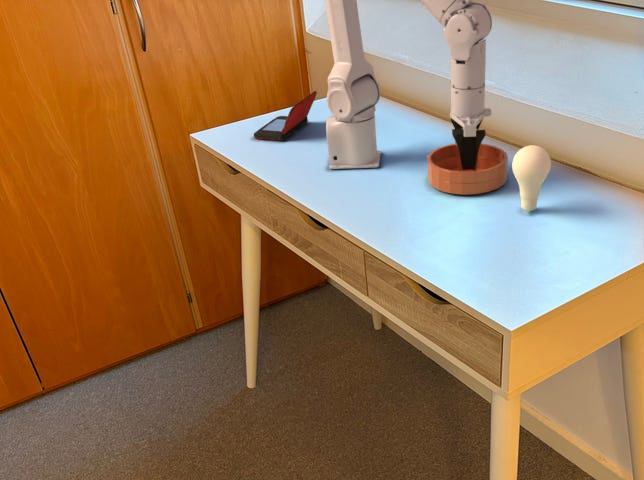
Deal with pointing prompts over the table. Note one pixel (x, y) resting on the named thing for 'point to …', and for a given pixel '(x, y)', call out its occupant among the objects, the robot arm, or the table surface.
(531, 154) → the lightbulb
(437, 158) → the bowl
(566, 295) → the table surface
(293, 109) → the handheld game console
